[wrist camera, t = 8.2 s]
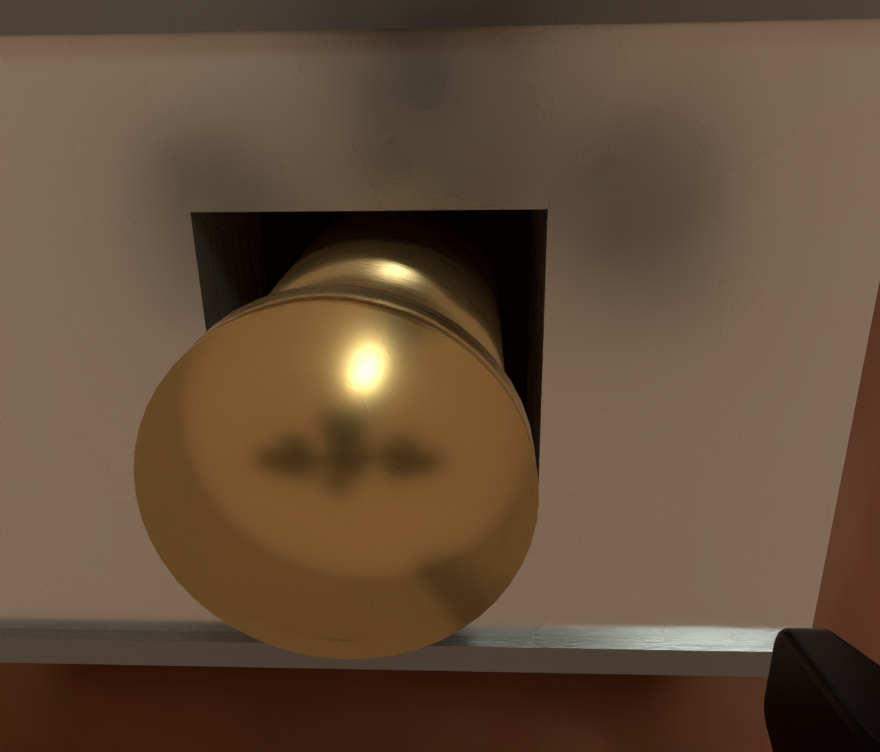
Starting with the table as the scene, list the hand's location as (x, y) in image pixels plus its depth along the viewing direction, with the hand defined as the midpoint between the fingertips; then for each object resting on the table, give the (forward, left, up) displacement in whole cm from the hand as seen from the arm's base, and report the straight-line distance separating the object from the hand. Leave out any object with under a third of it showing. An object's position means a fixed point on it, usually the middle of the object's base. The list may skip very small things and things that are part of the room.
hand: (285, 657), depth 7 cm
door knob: (0, 0, -11) cm, 11 cm away
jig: (0, 0, -11) cm, 11 cm away
